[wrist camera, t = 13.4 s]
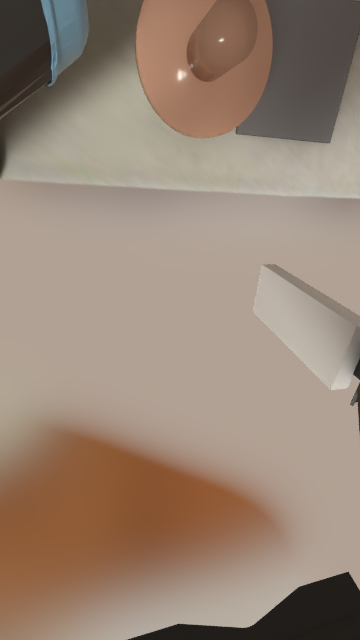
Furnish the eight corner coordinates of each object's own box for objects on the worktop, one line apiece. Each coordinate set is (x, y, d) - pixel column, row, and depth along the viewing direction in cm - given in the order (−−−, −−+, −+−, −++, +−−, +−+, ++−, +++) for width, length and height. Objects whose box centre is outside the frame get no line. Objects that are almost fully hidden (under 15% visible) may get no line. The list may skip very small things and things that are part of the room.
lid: (136, 132, 29) (145, 125, 23) (133, -61, 23) (145, -139, 17) (253, 142, 32) (289, 139, 26) (279, -26, 26) (333, -81, 20)
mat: (235, 133, 41) (237, 133, 40) (256, -21, 33) (258, -23, 33) (327, 143, 44) (329, 143, 44) (363, 5, 37) (366, 3, 37)
